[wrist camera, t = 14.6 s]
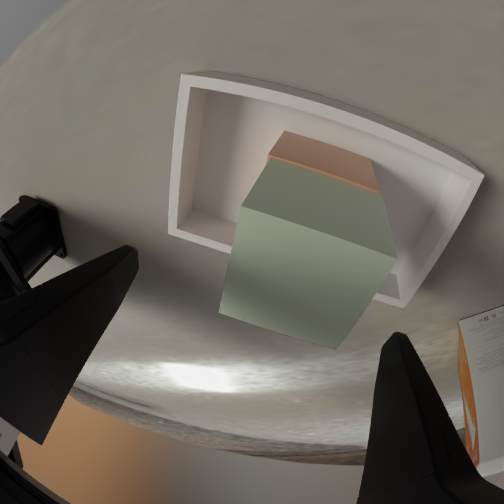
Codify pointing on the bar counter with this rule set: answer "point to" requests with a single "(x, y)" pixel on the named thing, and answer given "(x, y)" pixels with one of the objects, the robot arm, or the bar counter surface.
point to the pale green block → (307, 254)
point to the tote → (322, 129)
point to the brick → (325, 160)
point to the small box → (483, 388)
